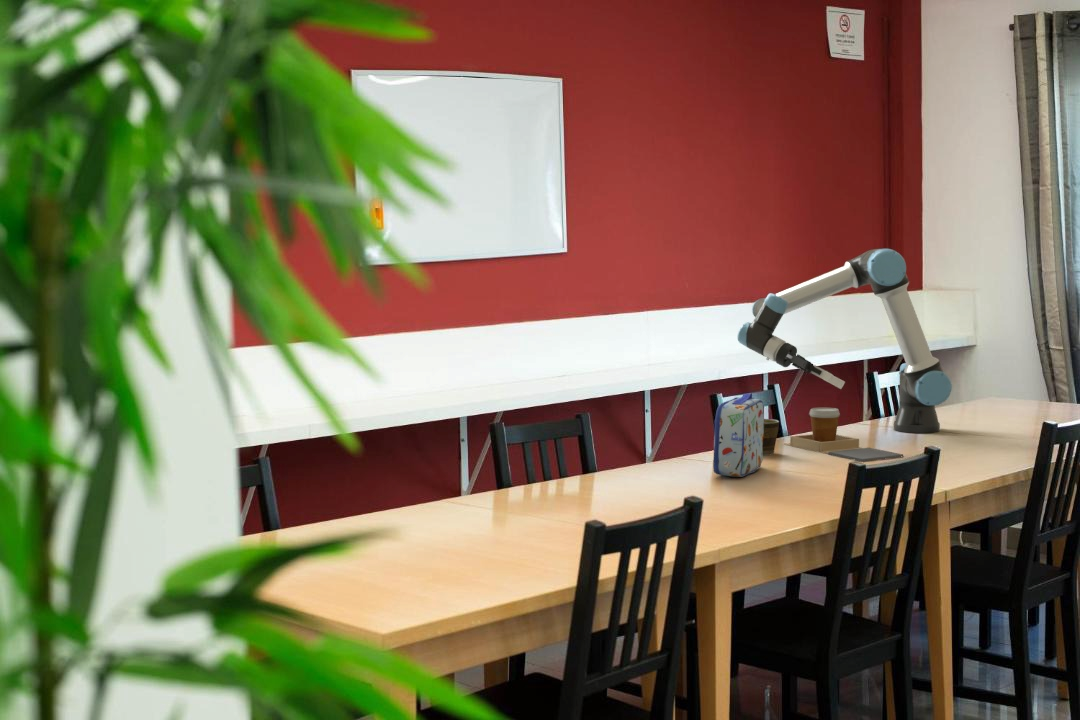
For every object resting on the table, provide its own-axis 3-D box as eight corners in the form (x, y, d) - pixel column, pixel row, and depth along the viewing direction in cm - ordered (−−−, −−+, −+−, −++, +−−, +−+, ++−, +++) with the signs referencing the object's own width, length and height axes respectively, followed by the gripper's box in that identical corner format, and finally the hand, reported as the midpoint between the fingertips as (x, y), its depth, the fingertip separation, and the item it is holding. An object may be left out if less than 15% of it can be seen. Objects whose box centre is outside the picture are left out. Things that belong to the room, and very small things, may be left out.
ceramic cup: (756, 449, 404) (756, 417, 403) (784, 452, 398) (785, 420, 397) (734, 455, 394) (734, 422, 393) (763, 458, 388) (764, 425, 387)
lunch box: (731, 463, 380) (732, 388, 378) (767, 465, 376) (767, 390, 374) (709, 479, 355) (709, 400, 352) (746, 482, 351) (746, 401, 349)
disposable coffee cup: (805, 448, 405) (805, 410, 404) (813, 444, 414) (814, 406, 413) (835, 450, 401) (835, 412, 400) (843, 445, 409) (843, 408, 408)
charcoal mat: (868, 450, 401) (868, 447, 401) (903, 457, 388) (903, 454, 388) (828, 454, 393) (828, 451, 393) (862, 461, 380) (862, 459, 380)
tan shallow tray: (821, 440, 420) (821, 431, 420) (865, 449, 401) (865, 440, 401) (784, 444, 413) (784, 435, 413) (827, 453, 395) (827, 444, 394)
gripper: (787, 369, 431) (842, 398, 420) (762, 355, 410) (819, 386, 399) (798, 349, 430) (853, 378, 419) (773, 334, 409) (831, 364, 398)
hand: (837, 382), depth 409 cm, fingers open, 13 cm apart
